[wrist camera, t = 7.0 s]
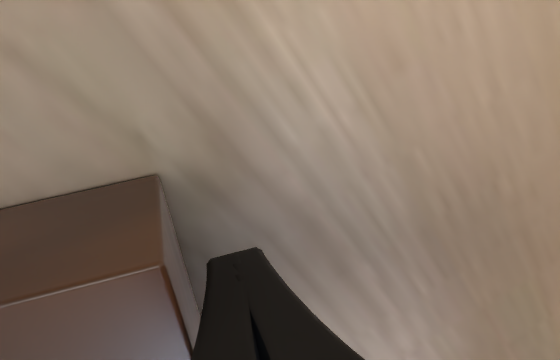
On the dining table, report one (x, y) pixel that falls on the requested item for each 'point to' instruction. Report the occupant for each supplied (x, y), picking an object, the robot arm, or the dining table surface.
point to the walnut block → (95, 278)
